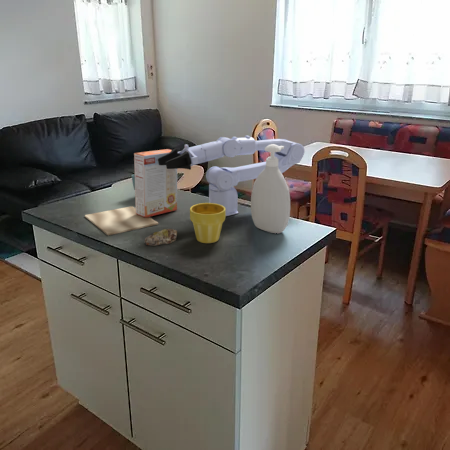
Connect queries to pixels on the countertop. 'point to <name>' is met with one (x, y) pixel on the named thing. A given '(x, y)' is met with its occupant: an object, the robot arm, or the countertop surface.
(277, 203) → the soap bottle
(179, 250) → the countertop surface
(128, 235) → the countertop surface
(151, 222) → the board
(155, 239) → the mineral rock
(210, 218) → the plant pot
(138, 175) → the cracker box
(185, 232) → the countertop surface
